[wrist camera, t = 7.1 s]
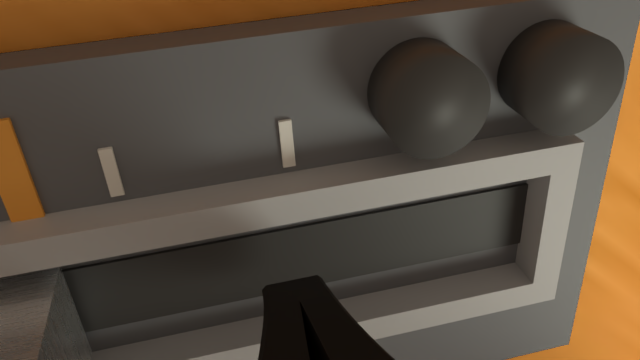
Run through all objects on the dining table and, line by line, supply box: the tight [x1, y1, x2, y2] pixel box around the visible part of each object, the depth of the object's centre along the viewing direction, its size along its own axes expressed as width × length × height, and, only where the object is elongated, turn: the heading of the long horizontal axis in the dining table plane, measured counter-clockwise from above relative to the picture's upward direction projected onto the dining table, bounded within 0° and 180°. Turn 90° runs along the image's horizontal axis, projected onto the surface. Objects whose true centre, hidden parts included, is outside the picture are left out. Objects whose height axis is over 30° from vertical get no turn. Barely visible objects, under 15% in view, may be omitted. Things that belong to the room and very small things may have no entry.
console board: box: [0, 0, 640, 360], centre depth 15 cm, size 12×22×3 cm, turn 93°
